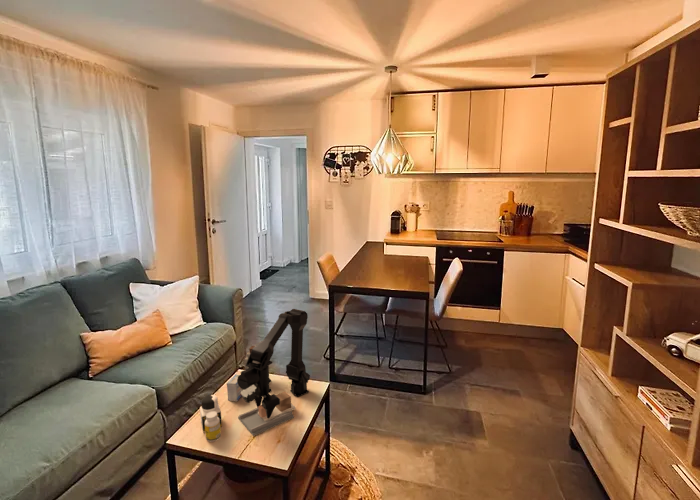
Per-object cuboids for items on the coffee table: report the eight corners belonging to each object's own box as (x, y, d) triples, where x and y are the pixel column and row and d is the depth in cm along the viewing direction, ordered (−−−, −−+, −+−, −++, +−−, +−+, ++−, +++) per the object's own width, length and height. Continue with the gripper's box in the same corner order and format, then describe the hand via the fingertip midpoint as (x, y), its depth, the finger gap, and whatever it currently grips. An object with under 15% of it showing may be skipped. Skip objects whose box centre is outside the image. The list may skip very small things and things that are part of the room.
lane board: (277, 402, 166) (277, 397, 165) (293, 417, 155) (293, 412, 155) (238, 418, 155) (238, 413, 154) (253, 436, 144) (252, 431, 144)
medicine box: (236, 401, 166) (235, 384, 165) (227, 400, 167) (226, 382, 166) (245, 392, 174) (244, 375, 172) (236, 391, 175) (235, 374, 173)
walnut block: (285, 401, 163) (284, 391, 162) (291, 407, 159) (290, 396, 158) (274, 406, 160) (274, 395, 159) (280, 411, 156) (280, 400, 155)
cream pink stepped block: (287, 401, 165) (286, 391, 164) (295, 408, 160) (295, 398, 159) (256, 414, 156) (255, 403, 155) (264, 422, 151) (263, 411, 150)
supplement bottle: (205, 434, 145) (203, 411, 143) (220, 431, 147) (218, 408, 145) (206, 443, 140) (204, 420, 138) (221, 440, 142) (219, 416, 140)
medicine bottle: (203, 432, 146) (200, 404, 144) (200, 422, 152) (198, 395, 150) (222, 427, 149) (220, 399, 147) (219, 417, 156) (217, 391, 153)
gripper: (233, 374, 153) (235, 409, 156) (253, 394, 139) (255, 432, 142) (258, 366, 160) (260, 399, 163) (280, 384, 146) (281, 420, 149)
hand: (263, 412), depth 154 cm, fingers open, 9 cm apart
